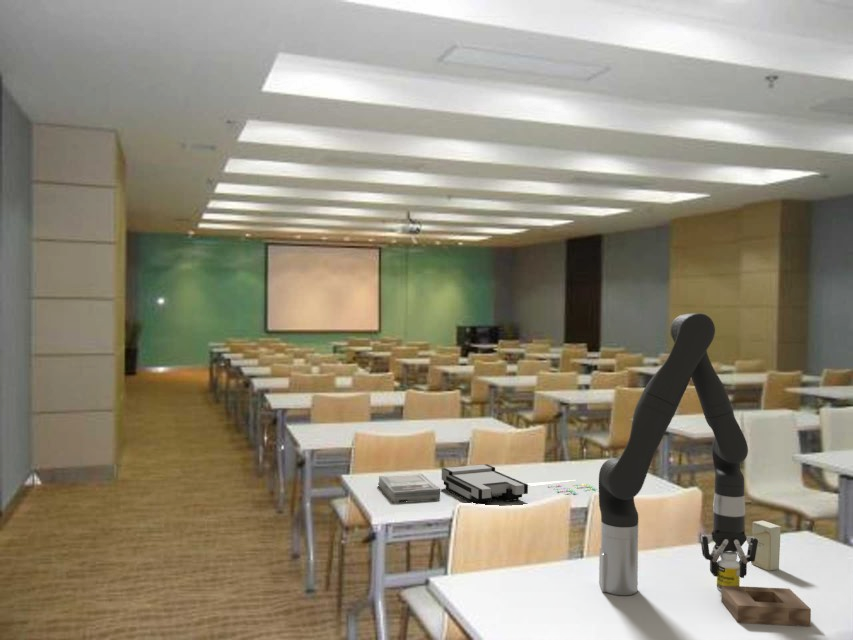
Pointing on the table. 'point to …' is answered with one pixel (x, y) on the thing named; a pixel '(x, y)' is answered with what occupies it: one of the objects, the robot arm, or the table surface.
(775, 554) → the skincare box
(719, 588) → the supplement bottle
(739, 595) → the walnut socket board
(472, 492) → the game console
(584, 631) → the table surface
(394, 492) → the hard drive
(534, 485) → the printed paper
